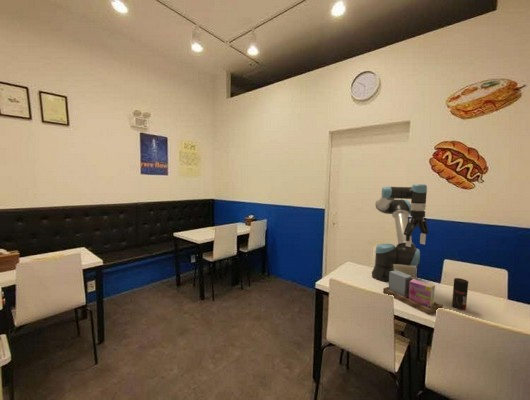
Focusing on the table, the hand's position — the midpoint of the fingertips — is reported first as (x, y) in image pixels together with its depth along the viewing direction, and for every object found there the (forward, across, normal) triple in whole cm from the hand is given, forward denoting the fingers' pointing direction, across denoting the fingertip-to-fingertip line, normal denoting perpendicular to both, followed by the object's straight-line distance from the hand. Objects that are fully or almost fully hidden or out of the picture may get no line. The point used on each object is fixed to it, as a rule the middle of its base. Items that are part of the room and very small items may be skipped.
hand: (415, 245), depth 149 cm
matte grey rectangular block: (+28, -13, -1) cm, 30 cm away
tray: (+29, -13, -8) cm, 32 cm away
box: (+28, -14, -14) cm, 34 cm away
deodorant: (+29, +4, -23) cm, 37 cm away
